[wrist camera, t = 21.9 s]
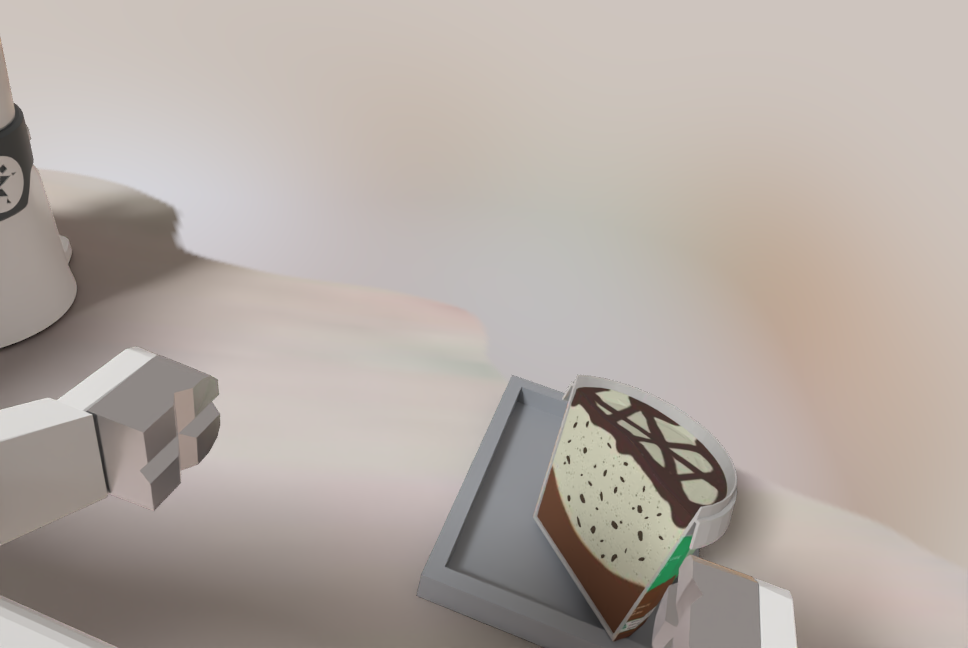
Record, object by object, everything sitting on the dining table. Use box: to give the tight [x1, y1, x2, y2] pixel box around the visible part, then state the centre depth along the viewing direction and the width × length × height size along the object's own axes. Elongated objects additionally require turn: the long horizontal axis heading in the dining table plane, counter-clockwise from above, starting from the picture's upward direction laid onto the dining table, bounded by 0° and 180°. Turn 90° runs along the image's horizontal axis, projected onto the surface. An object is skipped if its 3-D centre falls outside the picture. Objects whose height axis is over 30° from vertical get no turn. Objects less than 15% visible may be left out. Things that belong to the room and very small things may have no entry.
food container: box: [533, 375, 737, 642], centre depth 39 cm, size 12×6×10 cm, turn 22°
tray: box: [416, 375, 699, 648], centre depth 44 cm, size 15×19×2 cm
